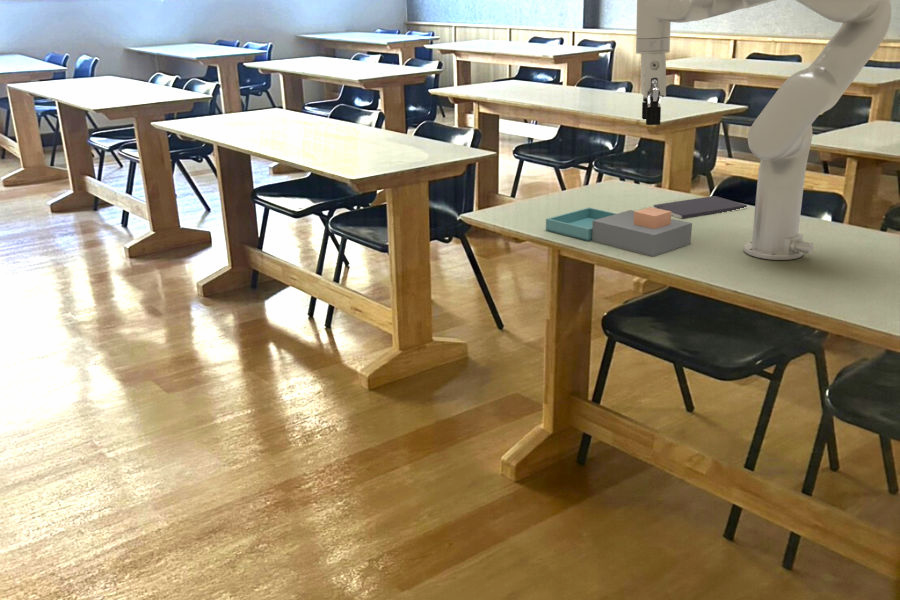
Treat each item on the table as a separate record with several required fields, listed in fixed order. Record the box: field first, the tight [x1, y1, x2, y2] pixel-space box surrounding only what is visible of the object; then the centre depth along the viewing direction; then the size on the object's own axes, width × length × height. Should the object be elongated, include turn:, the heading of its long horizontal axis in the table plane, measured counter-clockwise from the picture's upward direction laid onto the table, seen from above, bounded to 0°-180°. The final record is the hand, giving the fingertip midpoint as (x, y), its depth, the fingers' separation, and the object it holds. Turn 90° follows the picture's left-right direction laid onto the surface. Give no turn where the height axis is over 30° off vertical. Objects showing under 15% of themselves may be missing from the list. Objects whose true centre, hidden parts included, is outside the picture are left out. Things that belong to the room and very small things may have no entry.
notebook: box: [653, 195, 747, 220], centre depth 233 cm, size 13×2×21 cm
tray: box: [545, 207, 617, 242], centre depth 216 cm, size 14×16×3 cm
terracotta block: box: [634, 206, 672, 229], centre depth 200 cm, size 6×6×3 cm
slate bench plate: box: [591, 209, 693, 257], centre depth 204 cm, size 18×14×5 cm
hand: (650, 121), depth 203 cm, fingers open, 9 cm apart
